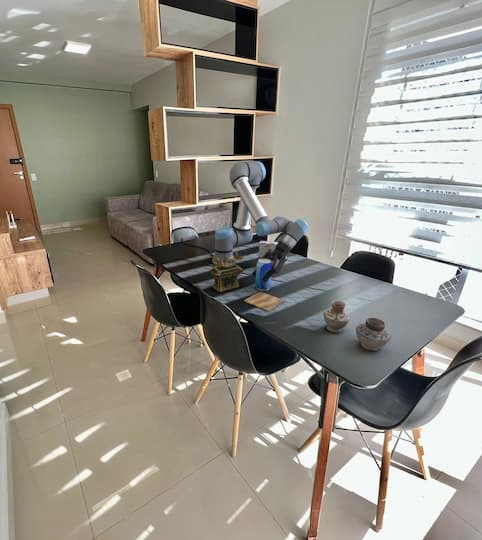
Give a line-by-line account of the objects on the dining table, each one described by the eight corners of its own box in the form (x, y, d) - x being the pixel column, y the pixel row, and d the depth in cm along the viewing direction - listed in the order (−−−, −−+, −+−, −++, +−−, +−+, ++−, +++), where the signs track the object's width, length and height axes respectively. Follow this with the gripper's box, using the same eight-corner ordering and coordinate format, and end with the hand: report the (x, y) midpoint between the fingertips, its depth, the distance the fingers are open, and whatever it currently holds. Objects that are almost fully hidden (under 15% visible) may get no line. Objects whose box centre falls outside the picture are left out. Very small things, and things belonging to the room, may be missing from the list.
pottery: (330, 319, 126) (334, 295, 122) (392, 347, 107) (400, 320, 103) (315, 328, 120) (319, 303, 115) (378, 360, 101) (385, 331, 97)
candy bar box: (276, 266, 186) (278, 241, 180) (274, 268, 182) (277, 244, 176) (258, 264, 190) (260, 240, 184) (257, 266, 186) (258, 242, 180)
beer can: (261, 293, 151) (263, 264, 145) (251, 287, 158) (253, 259, 152) (273, 289, 154) (276, 261, 148) (263, 283, 161) (265, 257, 155)
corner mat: (243, 301, 143) (243, 300, 142) (260, 292, 152) (260, 291, 151) (267, 311, 133) (267, 310, 133) (283, 301, 142) (284, 300, 142)
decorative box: (217, 293, 151) (217, 258, 144) (208, 286, 159) (208, 253, 152) (248, 285, 159) (250, 252, 152) (238, 279, 167) (239, 247, 160)
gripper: (302, 255, 145) (274, 289, 145) (276, 244, 163) (251, 274, 163) (295, 246, 141) (266, 281, 141) (269, 236, 159) (243, 267, 160)
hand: (258, 278), depth 152 cm, fingers closed on beer can, 8 cm apart
